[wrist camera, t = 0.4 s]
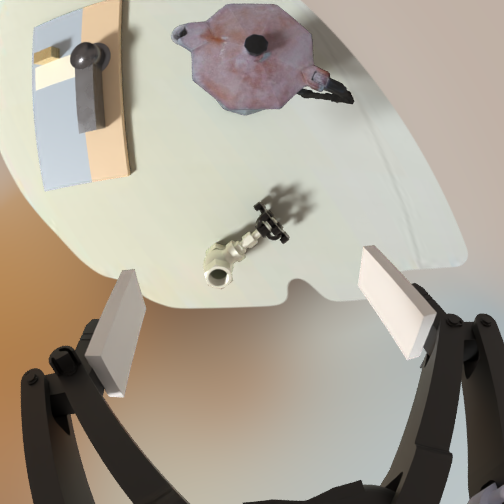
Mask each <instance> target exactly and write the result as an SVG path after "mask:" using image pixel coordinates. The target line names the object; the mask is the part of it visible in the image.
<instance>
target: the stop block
mask: <svg viewBox="0 0 504 504" xmlns="http://www.w3.org/2000/svg"><path fill="white" fill-rule="evenodd" d="M57 59H60V49H59V48H56V47H52V46H51V47H48V48H46V49H43V50H41V51H39V52H36V53H34V64H38V65H44V64H46V63H49V62H52V61H54V60H57Z"/></svg>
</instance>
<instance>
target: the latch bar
mask: <svg viewBox="0 0 504 504" xmlns="http://www.w3.org/2000/svg"><path fill="white" fill-rule="evenodd" d="M105 58H106V54H105V51H104V50H103V49H102V48H101V47H99V46H97V45H95V44H92V43H90V42H83V43H80V44H79V45H77V46H76V47H75V48H74V49H73V51H72V53H71V55H70V63H71V65H72V66H73V67H74V68H75V90H76V106H77V119H78V129H79V134H81V133H85V132H89V131H94V130H98V129H103V128H106V126H105V114H104V101H103V82H102V65H103V63H104V61H105Z"/></svg>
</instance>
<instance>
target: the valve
mask: <svg viewBox="0 0 504 504" xmlns="http://www.w3.org/2000/svg"><path fill="white" fill-rule="evenodd" d="M254 208H255V210H256V211H258V210H260V212H261V215H260V217H259V218H258V219H257V221H256V224H257V225H256V226H255V227H256V229H257V230H256V231H254V232H253V233H251V232H248V233H247V234H245V235H244V236H243V237H242V241H241V242H240V241H237V242H235V241H233V240H232V241H230V242H229V243H228V244H227V245H226V246H224V245H221V244H217V243H215V244H214V245H212V246H211V247H210V248H209V249H208V250H207V251H206V257H205V259H204V263H203V267H204V271H205V277H206V281H207V284H208V286H211V287H214V288H218V289H223V288H225V287H226V286H227V285H229V284H230V283H231V282H232V281H233V278H232V271H233V268H234V263H235V262H237V261H238V262H241V261H242V260H243V259H244V258H245V253H246V248H247V247H249V248H250V249H251V248H252V247H253V246H254V245H256V244H257V243H258V241H257V239H258V238H259V237H260V236H263V237H264V238H265V237H266V236H267V237H268V238H269V239H270V240H277V239H279V238H280V237H281V239H280V241H281V242H282V243H283V244H284V243H286V242H287V241H288V240H289V238H290V237H289V235H288V234H287V233H286V232H285V231H284V230H283V226H282V225H281V224H280V223H279V222H277V221H276V219H275V218H274V215H273V214H272V212H271V211H270V210H267V209H266V206H265V205H264V204H263V203H262V202H258V203H257V204H256V205H254ZM271 232H272V233H273V234H274V235H275V236H272V235H271V234H270V233H271Z"/></svg>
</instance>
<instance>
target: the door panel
mask: <svg viewBox="0 0 504 504" xmlns="http://www.w3.org/2000/svg"><path fill="white" fill-rule="evenodd" d="M121 18H122V0H106V1H103V2H100V3H96V4H93V5H90V6H87V7H84V8H81V9H78V10H75V11H73V12H70V13H67V14H65V15H62V16H60V17H57V18H55V19H52V20H50V21H48V22H45V23H43V24H41V25H39V26H36V27H34V34H33V52H32V92H33V111H34V123H35V133H36V141H37V149H38V156H39V163H40V169H41V175H42V180H43V185H44V190H45V191H49V190H54V189H58V188H63V187H68V186H73V185H79V184H84V183H90V182H95V181H101V180H107V179H113V178H120V177H127V176H129V175H130V166H129V158H128V150H127V141H126V131H125V120H124V107H123V91H122V67H121ZM83 42H90V43H92V44H95V45H97V46H99V47H101V48H102V49H103V50H104V51H105V54H106V58H105V61H104V63H103V65H102V82H103V101H104V114H105V126H106V128H103V129H98V130H94V131H89V132H85V133H81V134H79V129H78V119H77V106H76V90H75V68H74V67H73V66H72V65H71V63H70V55H71V53H72V51H73V49H74V48H75V47H76V46H77V45H79V44H80V43H83ZM51 46H52V47H56V48H59V49H60V59H57V60H54V61H52V62H49V63H46V64H44V65H38V64H34V53H36V52H39V51H41V50H43V49H46V48H48V47H51Z"/></svg>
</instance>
